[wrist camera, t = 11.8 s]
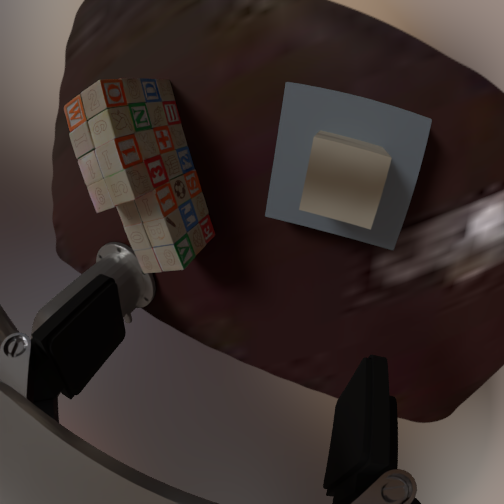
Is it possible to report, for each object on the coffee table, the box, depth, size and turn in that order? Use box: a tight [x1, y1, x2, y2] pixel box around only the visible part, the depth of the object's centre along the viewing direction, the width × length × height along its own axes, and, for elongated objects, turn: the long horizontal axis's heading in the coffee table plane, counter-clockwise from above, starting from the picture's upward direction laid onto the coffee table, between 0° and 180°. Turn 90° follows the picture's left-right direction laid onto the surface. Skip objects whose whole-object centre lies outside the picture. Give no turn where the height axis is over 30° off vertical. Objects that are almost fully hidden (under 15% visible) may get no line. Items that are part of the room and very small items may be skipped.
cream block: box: [299, 130, 392, 229], centre depth 24 cm, size 6×6×6 cm
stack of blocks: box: [64, 78, 215, 273], centre depth 31 cm, size 21×6×12 cm, turn 16°
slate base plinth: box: [265, 82, 432, 250], centre depth 28 cm, size 14×14×4 cm
